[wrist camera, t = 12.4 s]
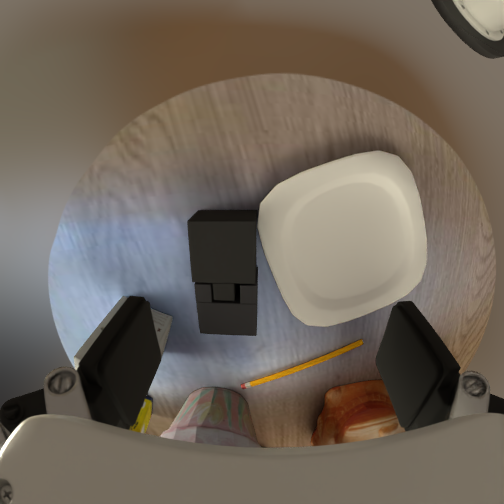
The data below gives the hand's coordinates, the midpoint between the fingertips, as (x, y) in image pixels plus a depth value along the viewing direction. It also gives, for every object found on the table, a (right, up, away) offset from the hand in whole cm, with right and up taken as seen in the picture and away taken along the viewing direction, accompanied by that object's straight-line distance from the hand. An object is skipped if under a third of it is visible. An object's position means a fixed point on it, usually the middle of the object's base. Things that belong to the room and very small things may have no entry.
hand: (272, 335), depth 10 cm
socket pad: (-3, -1, +21) cm, 21 cm away
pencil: (+6, -13, +25) cm, 29 cm away
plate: (+10, +4, +19) cm, 22 cm away
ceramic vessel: (+17, -25, +30) cm, 42 cm away
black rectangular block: (-3, +5, +19) cm, 20 cm away
